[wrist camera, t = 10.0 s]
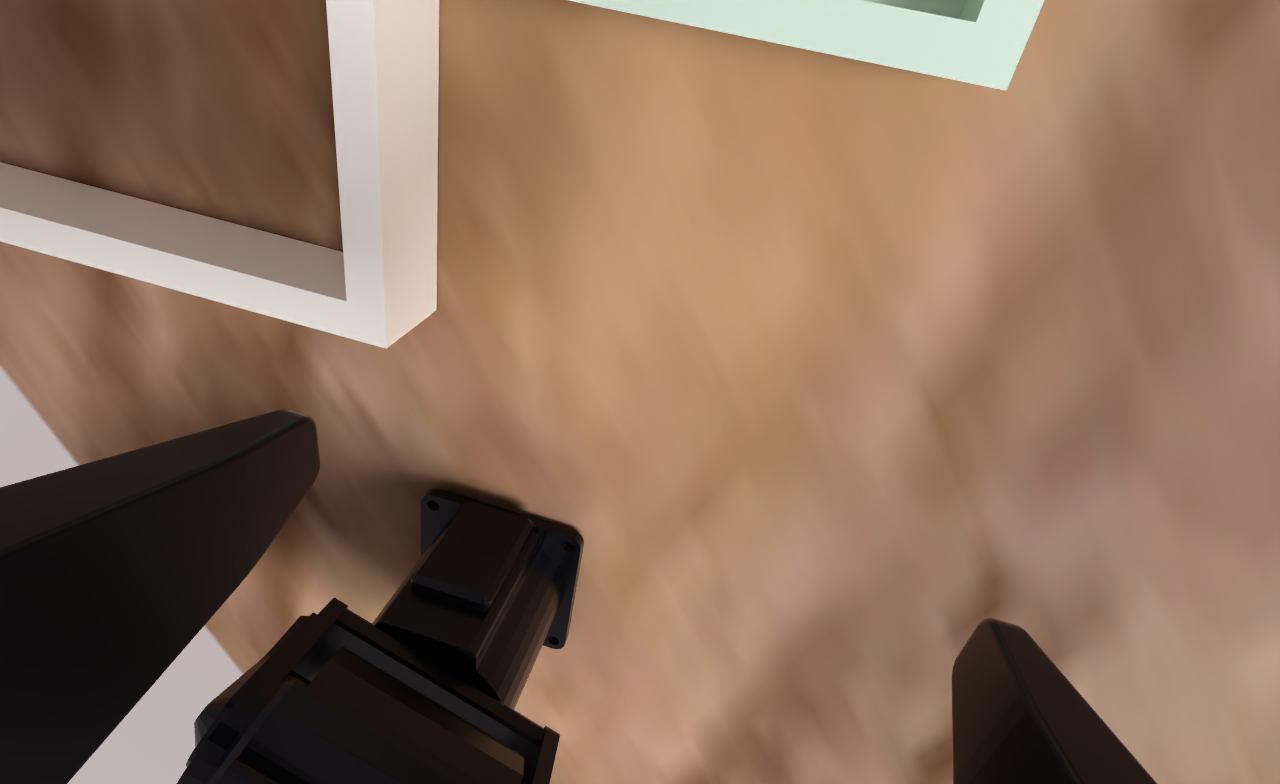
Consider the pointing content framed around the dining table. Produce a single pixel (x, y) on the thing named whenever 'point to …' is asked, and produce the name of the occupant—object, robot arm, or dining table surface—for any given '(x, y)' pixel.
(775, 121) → the dining table surface
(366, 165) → the shallow gray planter box
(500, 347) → the dining table surface
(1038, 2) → the tray
